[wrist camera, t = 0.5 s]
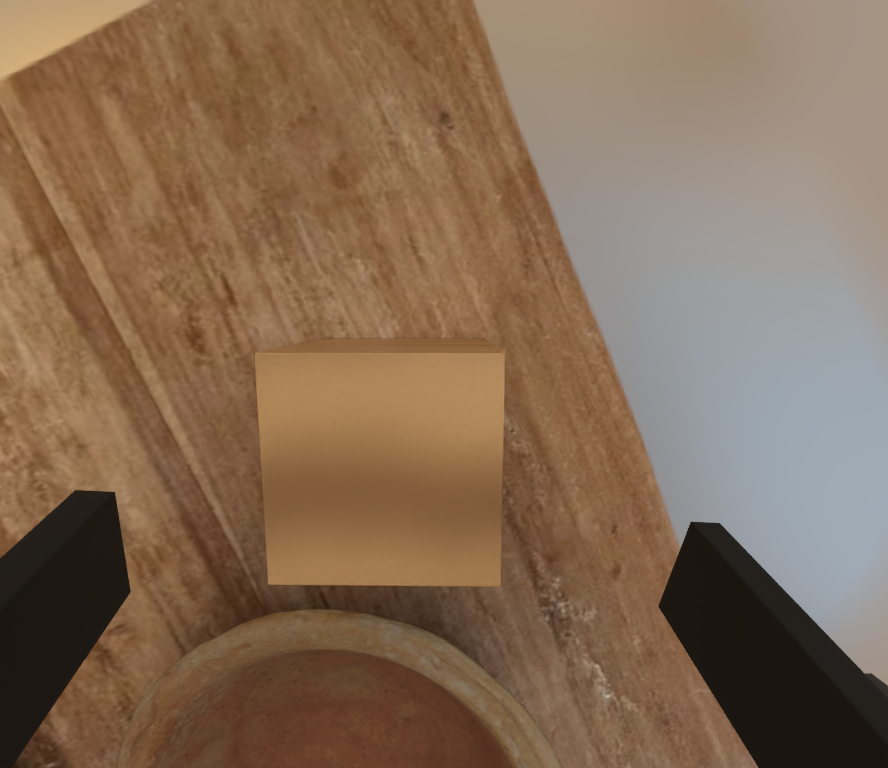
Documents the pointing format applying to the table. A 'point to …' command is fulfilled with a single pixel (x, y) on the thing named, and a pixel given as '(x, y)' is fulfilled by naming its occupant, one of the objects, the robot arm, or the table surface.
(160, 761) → the bowl
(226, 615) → the table surface
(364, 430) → the push block
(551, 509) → the table surface
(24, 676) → the robot arm
